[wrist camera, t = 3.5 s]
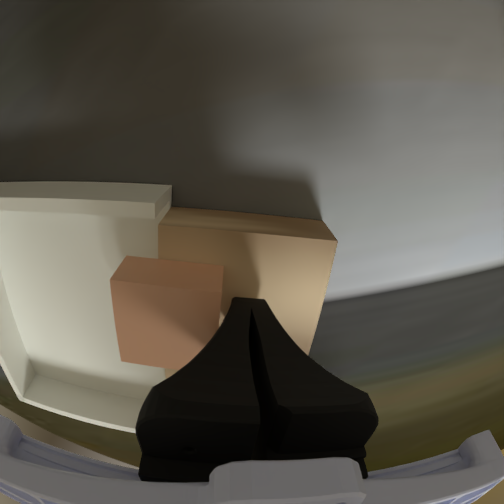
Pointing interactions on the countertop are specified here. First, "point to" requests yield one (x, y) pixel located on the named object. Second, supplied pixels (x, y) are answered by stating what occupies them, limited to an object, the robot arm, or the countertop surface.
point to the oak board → (257, 261)
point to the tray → (73, 294)
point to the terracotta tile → (165, 309)
